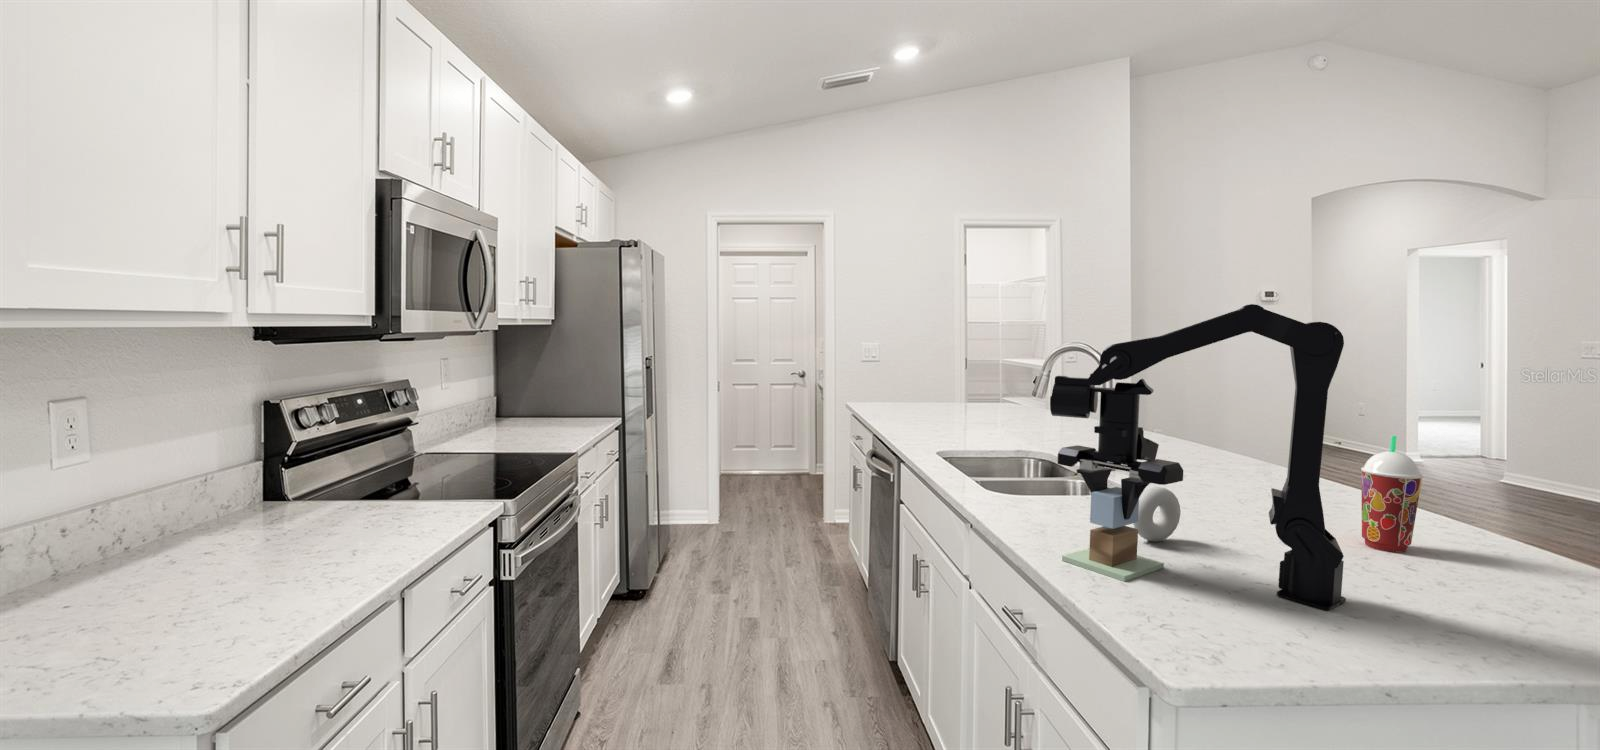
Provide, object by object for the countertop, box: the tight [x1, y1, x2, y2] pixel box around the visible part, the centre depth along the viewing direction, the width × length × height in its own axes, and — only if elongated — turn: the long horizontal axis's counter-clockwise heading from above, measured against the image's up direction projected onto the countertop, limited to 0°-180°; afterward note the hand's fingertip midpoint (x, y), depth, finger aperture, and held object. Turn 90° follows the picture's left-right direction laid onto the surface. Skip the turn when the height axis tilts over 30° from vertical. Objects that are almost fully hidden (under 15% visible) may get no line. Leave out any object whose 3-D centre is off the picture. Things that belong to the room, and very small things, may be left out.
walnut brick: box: [1089, 525, 1139, 567], centre depth 115 cm, size 4×7×5 cm, turn 124°
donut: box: [1132, 486, 1181, 543], centre depth 127 cm, size 10×4×10 cm, turn 111°
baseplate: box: [1061, 547, 1165, 582], centre depth 115 cm, size 11×11×1 cm
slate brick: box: [1089, 486, 1139, 529], centre depth 114 cm, size 4×7×5 cm, turn 124°
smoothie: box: [1360, 435, 1424, 553], centre depth 125 cm, size 8×8×20 cm
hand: (1114, 516), depth 114 cm, fingers closed on slate brick, 4 cm apart
